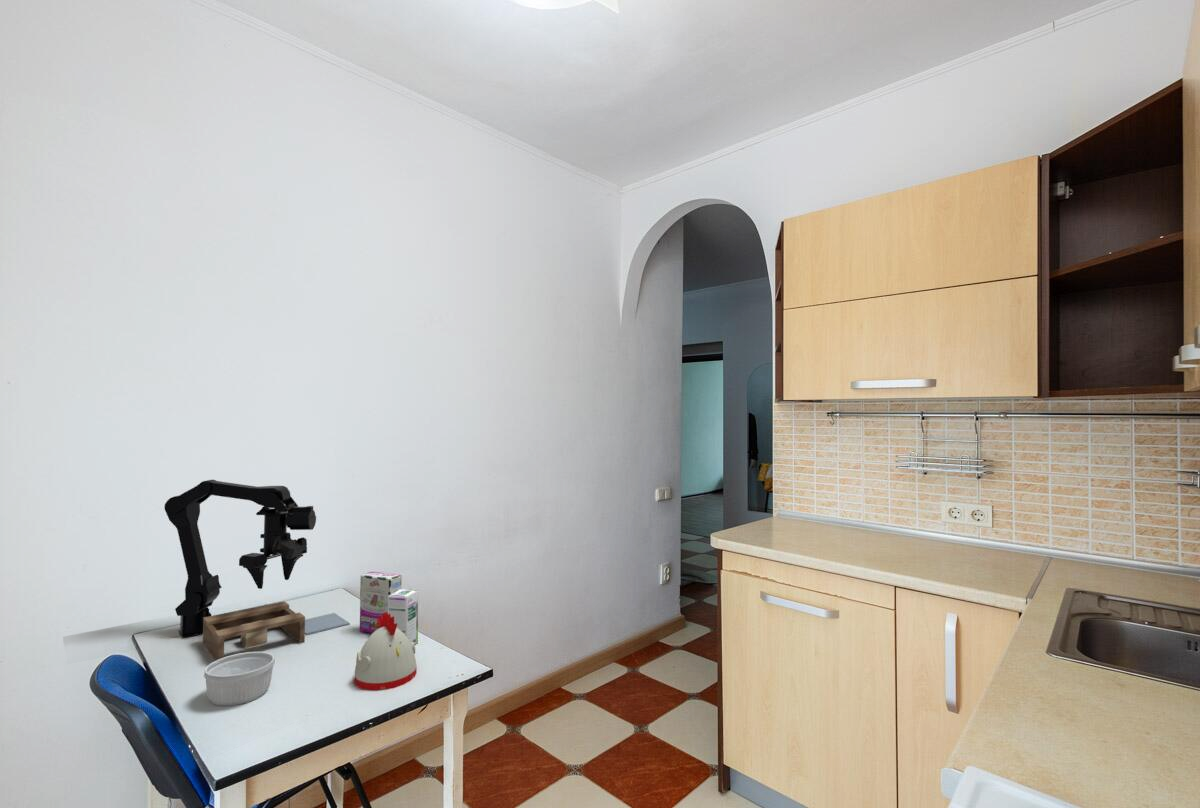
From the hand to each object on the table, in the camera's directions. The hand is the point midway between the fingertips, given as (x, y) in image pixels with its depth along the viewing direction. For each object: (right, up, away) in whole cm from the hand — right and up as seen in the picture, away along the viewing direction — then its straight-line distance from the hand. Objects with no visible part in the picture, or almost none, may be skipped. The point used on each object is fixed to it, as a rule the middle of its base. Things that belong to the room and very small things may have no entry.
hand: (273, 584), depth 165 cm
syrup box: (+41, -13, -11) cm, 45 cm away
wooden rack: (0, -13, -10) cm, 16 cm away
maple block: (0, -13, -10) cm, 16 cm away
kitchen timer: (+43, -13, -29) cm, 54 cm away
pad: (+12, -13, +4) cm, 18 cm away
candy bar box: (+31, -14, -2) cm, 34 cm away
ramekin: (+14, -13, -38) cm, 43 cm away
